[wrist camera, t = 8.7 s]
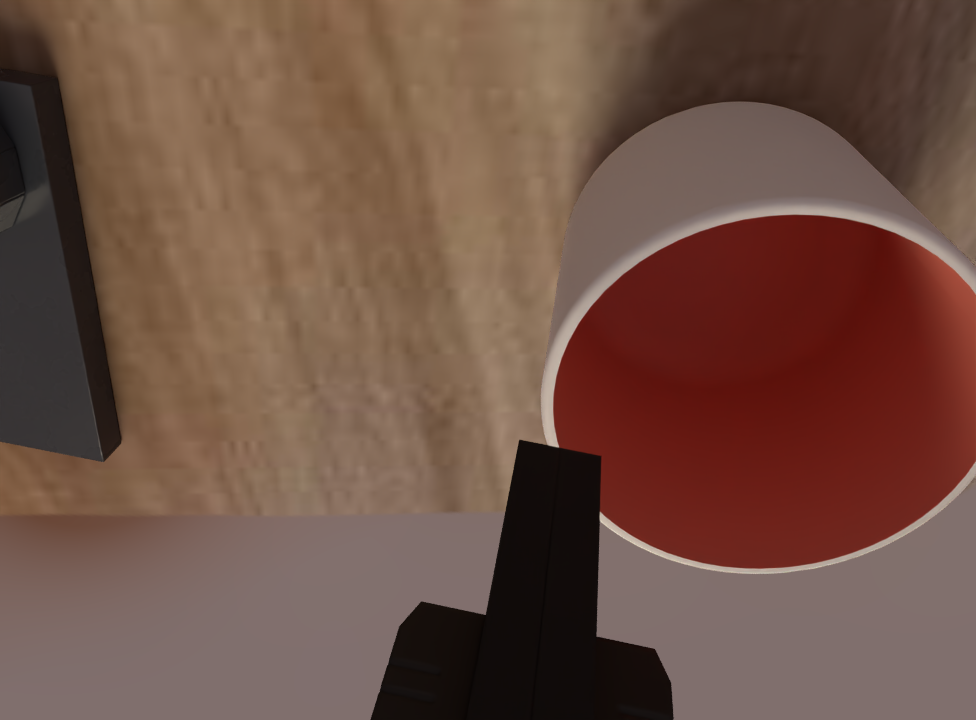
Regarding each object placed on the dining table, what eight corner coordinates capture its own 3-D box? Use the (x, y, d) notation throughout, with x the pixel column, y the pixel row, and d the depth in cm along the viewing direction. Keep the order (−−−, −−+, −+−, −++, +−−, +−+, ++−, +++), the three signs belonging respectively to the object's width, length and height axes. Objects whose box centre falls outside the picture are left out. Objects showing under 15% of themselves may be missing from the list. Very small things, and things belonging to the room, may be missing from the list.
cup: (835, 34, 21) (980, 113, 13) (902, 322, 25) (1045, 526, 17) (518, 168, 25) (468, 301, 16) (623, 404, 29) (626, 608, 20)
